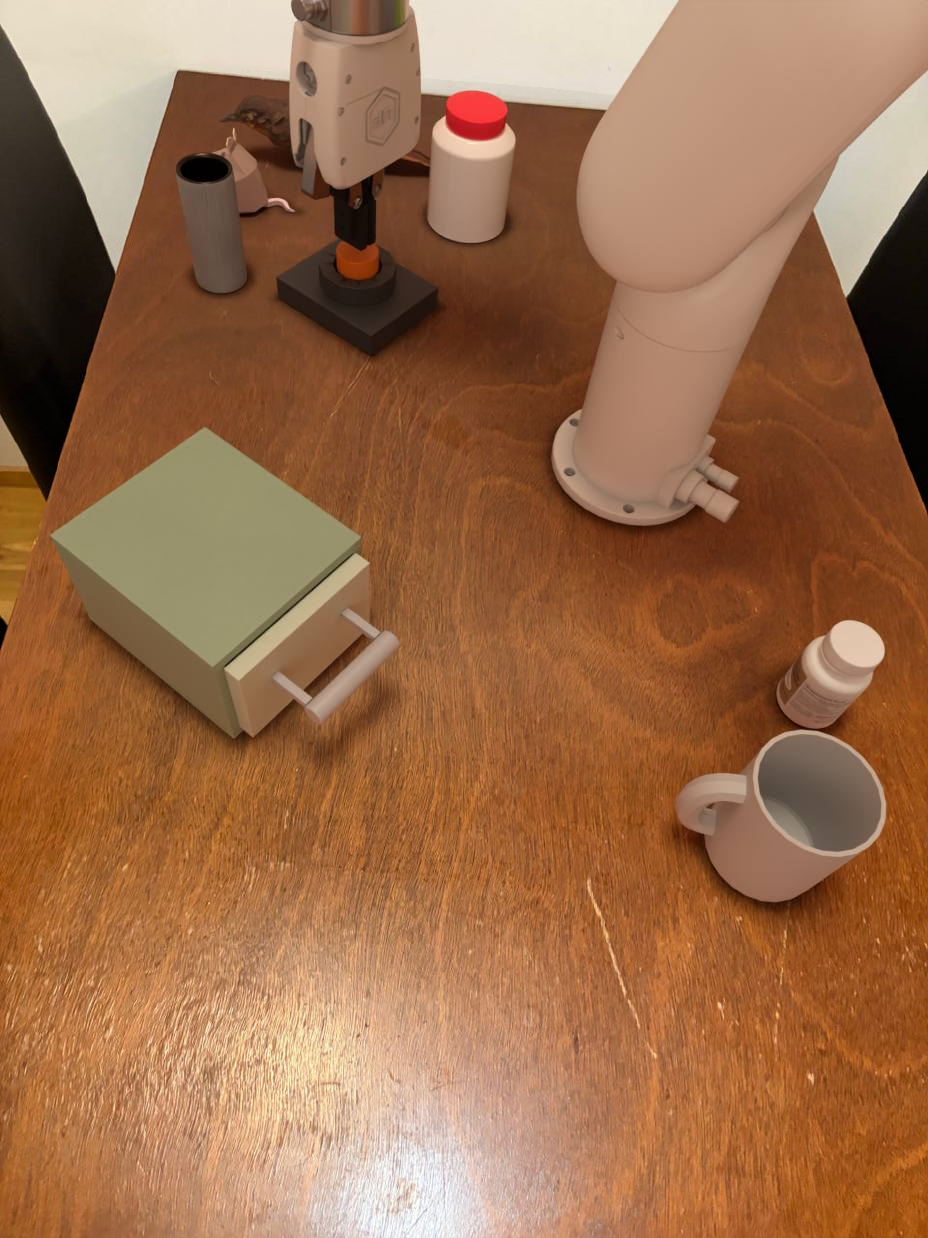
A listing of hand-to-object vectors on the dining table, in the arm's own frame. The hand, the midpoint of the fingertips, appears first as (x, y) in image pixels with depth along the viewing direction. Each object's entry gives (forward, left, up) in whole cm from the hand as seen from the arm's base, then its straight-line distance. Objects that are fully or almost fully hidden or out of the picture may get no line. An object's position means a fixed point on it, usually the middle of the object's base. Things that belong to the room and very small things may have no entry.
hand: (355, 239), depth 75 cm
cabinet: (-16, +31, -6) cm, 36 cm away
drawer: (-20, +31, -5) cm, 37 cm away
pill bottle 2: (-50, +10, -6) cm, 52 cm away
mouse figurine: (+17, -4, -6) cm, 18 cm away
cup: (-51, +22, -6) cm, 56 cm away
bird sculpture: (+15, -15, -6) cm, 23 cm away
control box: (0, 0, -6) cm, 6 cm away
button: (0, 0, -3) cm, 3 cm away
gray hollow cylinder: (+11, +6, -6) cm, 14 cm away
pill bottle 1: (+1, -17, -6) cm, 18 cm away
